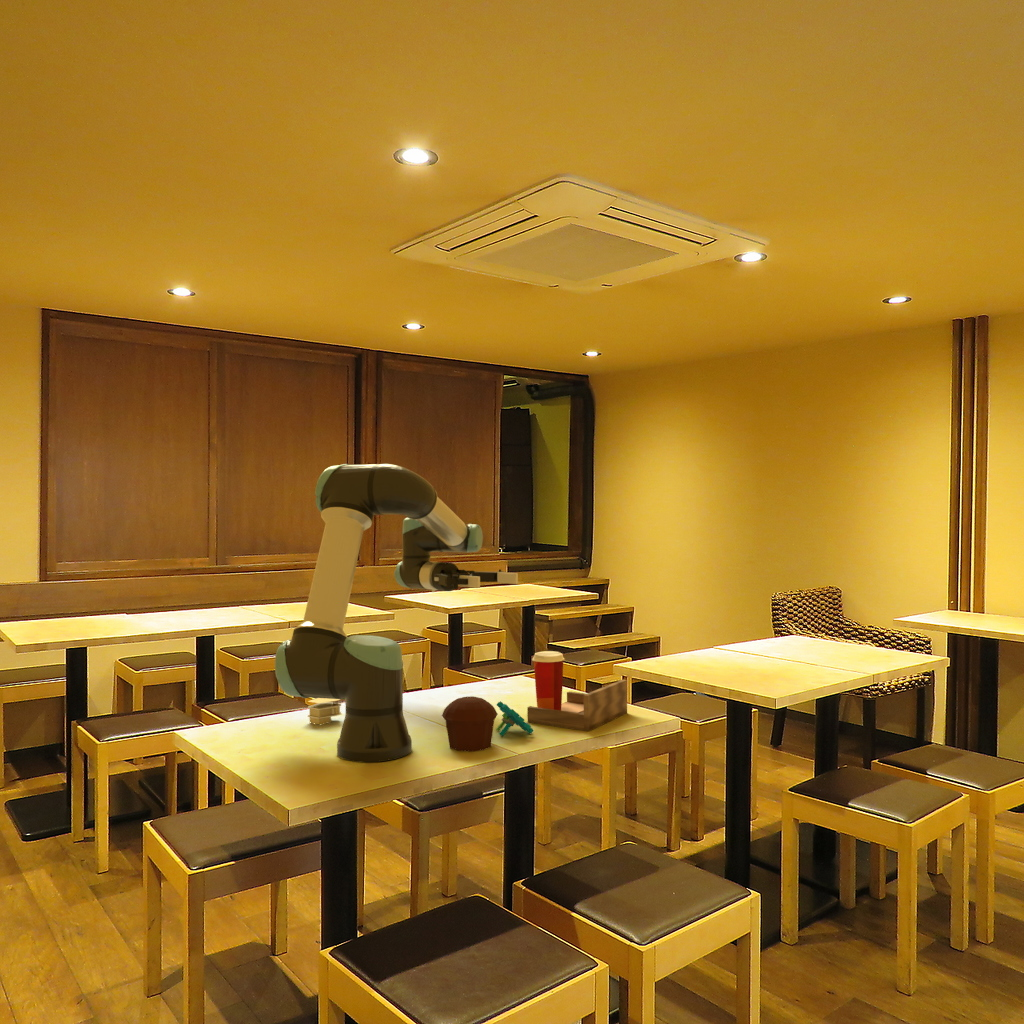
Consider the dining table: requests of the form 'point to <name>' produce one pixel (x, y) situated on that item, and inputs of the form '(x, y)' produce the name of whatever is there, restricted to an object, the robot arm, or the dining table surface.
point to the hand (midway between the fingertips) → (498, 580)
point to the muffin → (469, 724)
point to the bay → (585, 708)
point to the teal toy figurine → (511, 720)
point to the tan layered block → (323, 710)
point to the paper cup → (548, 679)
